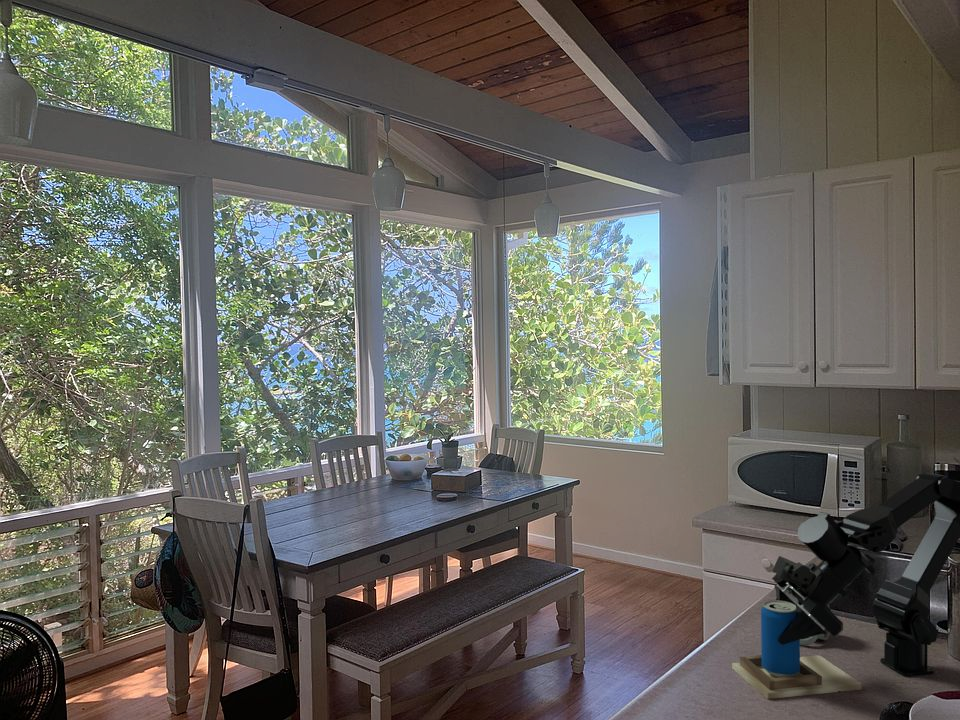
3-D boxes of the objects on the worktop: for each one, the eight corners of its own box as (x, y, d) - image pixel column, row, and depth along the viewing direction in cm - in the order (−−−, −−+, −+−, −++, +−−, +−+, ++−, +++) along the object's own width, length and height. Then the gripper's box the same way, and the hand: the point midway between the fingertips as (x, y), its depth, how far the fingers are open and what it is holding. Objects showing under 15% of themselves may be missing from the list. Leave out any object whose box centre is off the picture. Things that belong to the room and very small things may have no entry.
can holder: (818, 660, 142) (819, 647, 141) (861, 689, 130) (861, 675, 130) (732, 668, 138) (732, 655, 138) (767, 698, 127) (767, 684, 127)
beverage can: (768, 660, 138) (767, 597, 138) (804, 669, 134) (803, 604, 134) (756, 672, 133) (755, 607, 133) (793, 682, 129) (793, 615, 129)
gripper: (782, 529, 142) (725, 586, 143) (823, 558, 123) (757, 624, 124) (824, 569, 142) (766, 626, 143) (871, 604, 123) (805, 669, 124)
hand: (772, 634), depth 133 cm, fingers closed on beverage can, 6 cm apart
